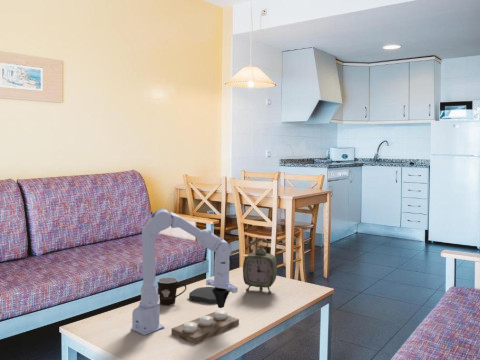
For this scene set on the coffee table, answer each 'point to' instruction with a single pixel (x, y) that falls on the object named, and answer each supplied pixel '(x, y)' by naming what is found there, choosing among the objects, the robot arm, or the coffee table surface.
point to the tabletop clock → (259, 268)
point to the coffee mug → (168, 290)
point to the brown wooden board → (205, 329)
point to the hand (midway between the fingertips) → (221, 307)
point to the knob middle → (206, 321)
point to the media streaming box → (203, 295)
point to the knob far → (221, 315)
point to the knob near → (190, 327)
